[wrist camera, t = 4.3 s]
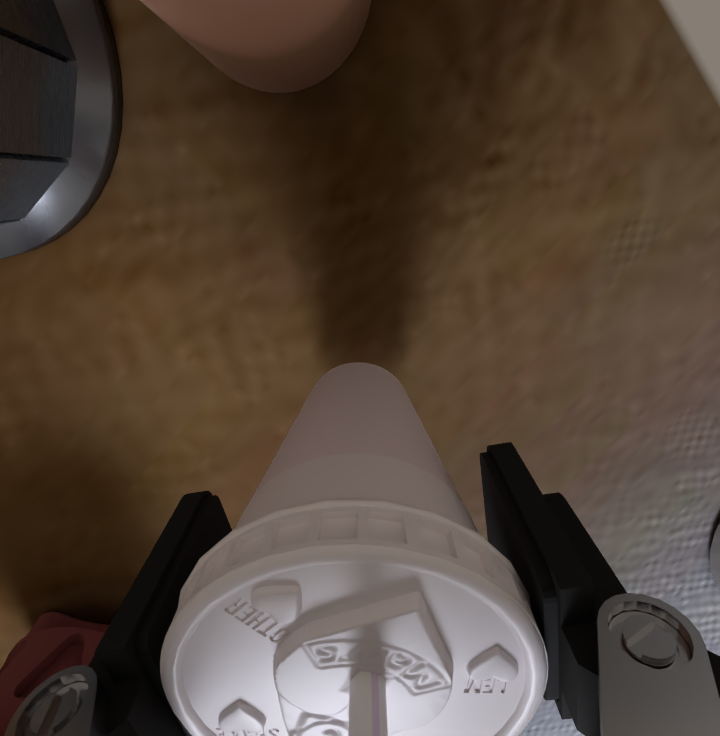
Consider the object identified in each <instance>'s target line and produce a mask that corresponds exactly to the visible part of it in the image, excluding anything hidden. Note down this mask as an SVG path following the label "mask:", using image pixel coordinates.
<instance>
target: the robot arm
mask: <svg viewBox="0 0 720 736" xmlns="http://www.w3.org/2000/svg"><path fill="white" fill-rule="evenodd" d="M480 465H481V475H482V485H483V495H484V505H485V515H486V525H487V535H488V541H489V543H490V544H491V545H492V546H493V547H494V548H496V549H497V550H498V551H499V552H500V553H501V554H502V555H503V556H505V557H506V558H507V559H508V560H509V561H510V562H511V564H512V565H513V567H514V569H515V571H516V572H517V574H518V576H519V578H520V579H521V581H522V583H523V585H524V586H525V588H526V590H527V592H528V593H529V597H530V604H531V611H532V614H533V616H534V619H535V621H536V624H537V626H538V629H539V631H540V634H541V636H542V639H543V641H544V645H545V649H546V653H547V659H548V679H547V684H546V689H545V692H544V695H543V697H544V699H545V700H555V702H556V705H557V708H558V710H559V713H560V715H561V718H562V719H571V718H573V721H574V723H575V726H576V728H577V730H578V731H579V732H581V733H582V734H584V735H585V736H720V656H718V655H716V654H714V653H712V652H710V651H708V650H707V649H706V646H705V643H704V641H703V639H702V637H701V635H700V632H699V631H698V630H697V629H696V627H695V626H694V625H693V624H692V622H691V621H690V620H689V619H688V618H687V617H686V616H684V615H683V614H682V613H681V612H679V611H678V610H677V609H676V608H674V607H673V606H671V605H669V604H667V603H665V602H663V601H661V600H659V599H656V598H653V597H650V596H647V595H643V594H633V593H627V592H626V591H625V589H624V588H623V586H622V585H621V583H620V582H619V580H618V578H617V577H616V575H615V574H614V572H613V571H612V569H611V568H610V566H609V565H608V563H607V562H606V560H605V559H604V557H603V556H602V554H601V553H600V551H599V549H598V548H597V546H596V545H595V543H594V542H593V540H592V539H591V537H590V536H589V534H588V533H587V531H586V530H585V528H584V527H583V525H582V524H581V522H580V521H579V519H578V517H577V516H576V514H575V513H574V511H573V510H572V508H571V507H570V505H569V504H568V502H567V501H566V499H565V498H564V497H563V495H562V494H560V493H551V494H544V495H542V493H541V491H540V490H539V488H538V486H537V485H536V483H535V481H534V479H533V478H532V476H531V474H530V473H529V471H528V469H527V468H526V466H525V464H524V462H523V461H522V459H521V457H520V456H519V454H518V452H517V451H516V449H515V447H514V446H513V444H512V443H511V442H508V443H502V444H496V445H490V446H487V452H484V453H480ZM231 531H232V529H231V527H230V524H229V522H228V519H227V517H226V514H225V512H224V509H223V507H222V504H221V502H220V499H219V497H218V496H216V495H214V496H212V494H211V493H210V492H209V491H202V492H196V493H190V494H186V495H184V496H183V497H182V499H181V501H180V502H179V504H178V506H177V508H176V509H175V511H174V513H173V515H172V516H171V518H170V520H169V522H168V523H167V525H166V527H165V529H164V530H163V532H162V534H161V536H160V537H159V539H158V541H157V543H156V544H155V546H154V548H153V550H152V551H151V553H150V555H149V557H148V558H147V560H146V562H145V564H144V565H143V567H142V569H141V571H140V572H139V574H138V576H137V578H136V579H135V581H134V583H133V585H132V586H131V588H130V590H129V592H128V593H127V595H126V597H125V599H124V600H123V602H122V604H121V606H120V607H119V609H118V611H117V613H116V614H115V616H114V618H113V620H112V622H111V623H110V625H109V627H108V629H107V630H106V632H105V634H104V636H103V637H102V639H101V641H100V643H99V644H98V646H97V648H96V650H95V651H94V652H95V655H94V656H93V658H92V660H91V662H90V663H89V665H88V666H85V665H79V666H72V667H69V668H67V669H64V670H61V671H59V672H58V673H56V674H54V675H53V676H51V677H49V678H48V679H46V680H45V681H44V682H43V683H41V684H40V685H39V686H38V687H37V688H35V689H34V690H33V691H32V692H31V693H30V694H29V696H28V697H27V698H26V699H25V700H24V701H23V702H22V703H21V705H20V706H19V707H18V709H17V710H16V712H15V713H14V715H13V716H12V718H11V720H10V722H9V725H8V727H7V729H6V731H5V735H4V736H192V735H191V734H190V733H189V732H188V730H187V729H186V728H185V726H184V725H183V724H182V723H181V721H180V720H179V719H178V717H177V716H176V715H175V713H174V712H173V710H172V707H171V705H170V703H169V701H168V700H167V697H166V695H165V692H164V689H163V685H162V680H161V675H160V657H161V650H162V646H163V643H164V639H165V636H166V634H167V632H168V629H169V627H170V625H171V623H172V621H173V618H174V616H175V614H176V611H177V609H178V604H179V597H180V591H181V589H182V587H183V586H184V584H185V582H186V581H187V579H188V577H189V576H190V574H191V572H192V571H193V569H194V567H195V566H196V564H197V562H198V561H199V559H200V558H201V557H202V556H203V555H204V554H205V553H207V552H208V551H209V550H210V549H211V548H212V547H214V546H215V545H216V544H217V543H218V542H219V541H221V540H222V539H223V538H224V537H225V536H227V535H228V534H229V533H230V532H231ZM710 570H711V573H712V576H713V579H714V582H715V583H716V585H717V586H718V587H719V589H720V523H719V525H718V527H717V529H716V531H715V533H714V537H713V541H712V545H711V549H710Z"/></svg>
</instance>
